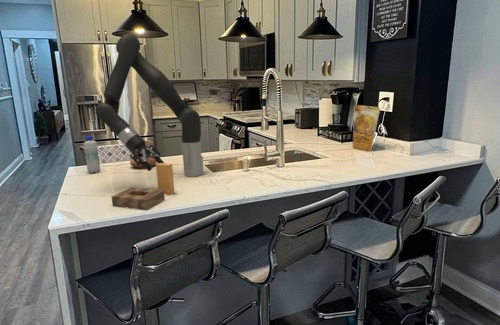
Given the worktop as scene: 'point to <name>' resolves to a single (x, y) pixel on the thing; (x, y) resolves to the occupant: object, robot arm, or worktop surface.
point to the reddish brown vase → (149, 160)
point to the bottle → (91, 155)
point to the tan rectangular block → (165, 178)
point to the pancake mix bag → (364, 126)
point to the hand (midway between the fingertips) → (156, 167)
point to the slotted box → (138, 198)
